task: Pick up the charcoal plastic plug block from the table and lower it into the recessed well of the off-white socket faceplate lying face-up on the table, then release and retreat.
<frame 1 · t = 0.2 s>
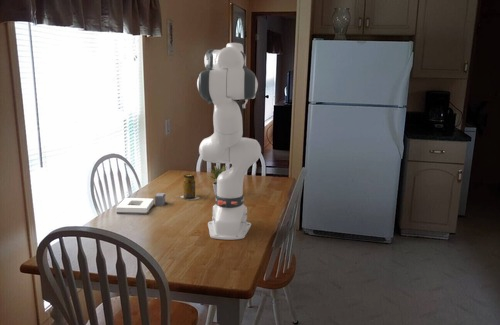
hand: (233, 107, 212), 48 cm above the table, tool pointing down, fingers open, 8 cm apart
plug: (160, 204, 219), on the table
house plant: (219, 195, 234), on the table
socket: (135, 208, 212), on the table
condiment: (190, 198, 230), on the table
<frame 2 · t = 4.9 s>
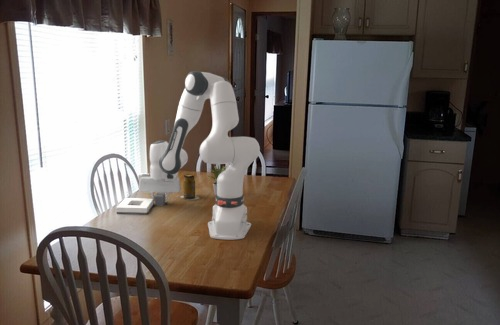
hand: (160, 200, 219), 2 cm above the table, tool pointing down, fingers closed on plug, 4 cm apart
plug: (160, 203, 219), on the table, touching gripper
everything else where it was.
when the fingers open (4 cm above the table, at t = 9.8 s): plug stays where it is, resting on socket.
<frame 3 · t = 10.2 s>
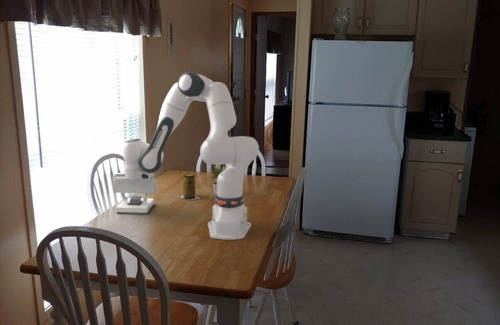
hand: (135, 201, 211), 4 cm above the table, tool pointing down, fingers open, 8 cm apart
plug: (135, 207, 211), point 1 cm above the table, touching socket
everything else where it was.
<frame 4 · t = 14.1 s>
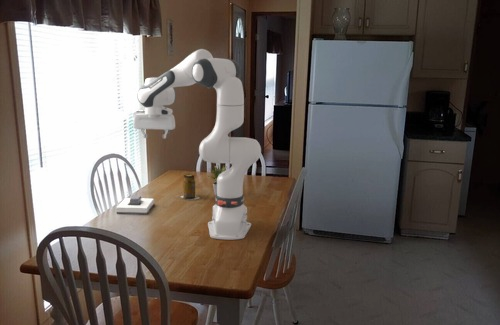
hand: (154, 137, 222), 31 cm above the table, tool pointing down, fingers open, 8 cm apart
nothing on the table moved.
at the end: plug 0.1 cm off-centre on the socket, point 0.8 cm above the socket's base; plug tilted 0°; the gripper is holding nothing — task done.
